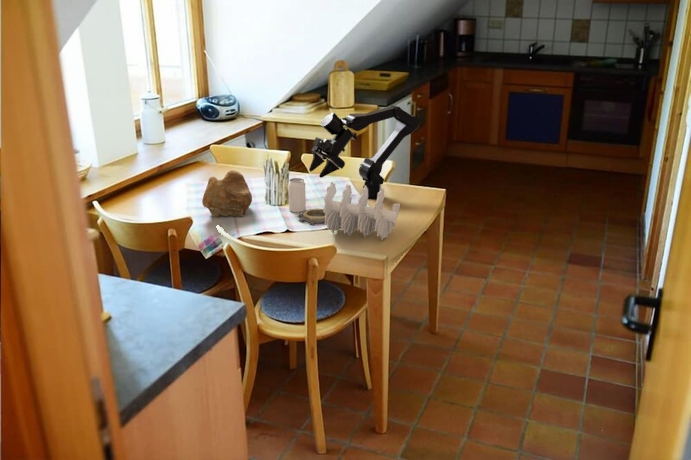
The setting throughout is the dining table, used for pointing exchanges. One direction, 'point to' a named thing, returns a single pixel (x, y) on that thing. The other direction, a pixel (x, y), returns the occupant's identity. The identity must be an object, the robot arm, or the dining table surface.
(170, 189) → the dining table surface
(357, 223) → the white pleated crown
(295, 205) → the can
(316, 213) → the gear plate
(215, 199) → the rough brown rock
